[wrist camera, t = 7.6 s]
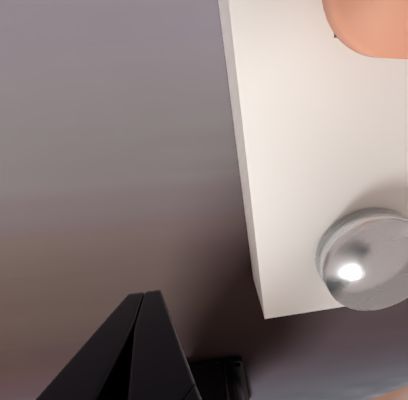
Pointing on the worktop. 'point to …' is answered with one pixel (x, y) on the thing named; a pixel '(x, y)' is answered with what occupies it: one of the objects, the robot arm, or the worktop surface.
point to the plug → (366, 259)
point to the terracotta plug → (370, 26)
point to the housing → (308, 140)
